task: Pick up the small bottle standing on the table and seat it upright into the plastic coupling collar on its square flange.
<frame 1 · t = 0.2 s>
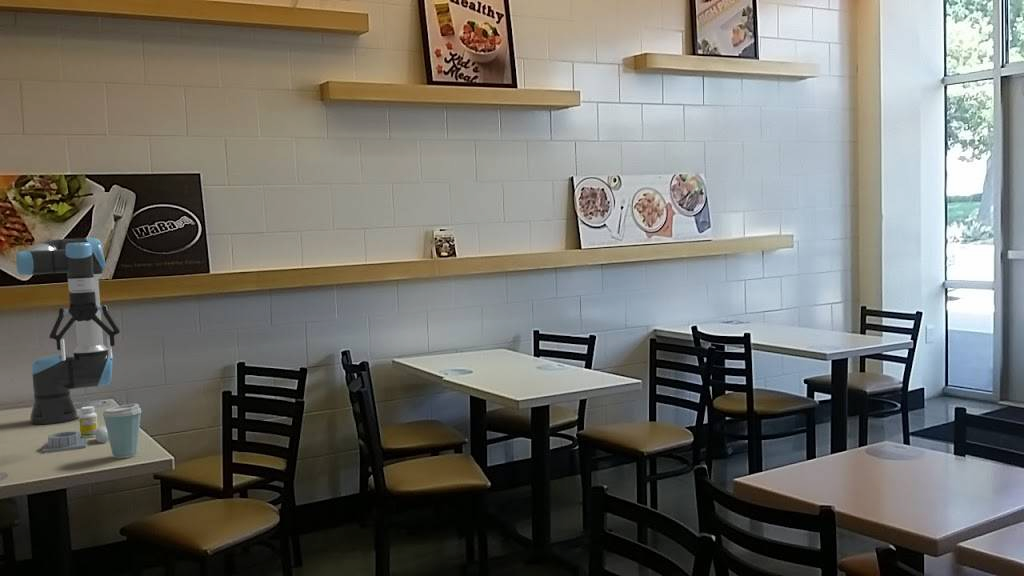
hand: (87, 358, 301), 27 cm above the table, tool pointing down, fingers open, 13 cm apart
supplement bottle: (89, 436, 312), on the table
disposable coffee cup: (125, 456, 282), on the table
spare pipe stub: (103, 440, 304), on the table
coupling socket: (65, 446, 298), on the table
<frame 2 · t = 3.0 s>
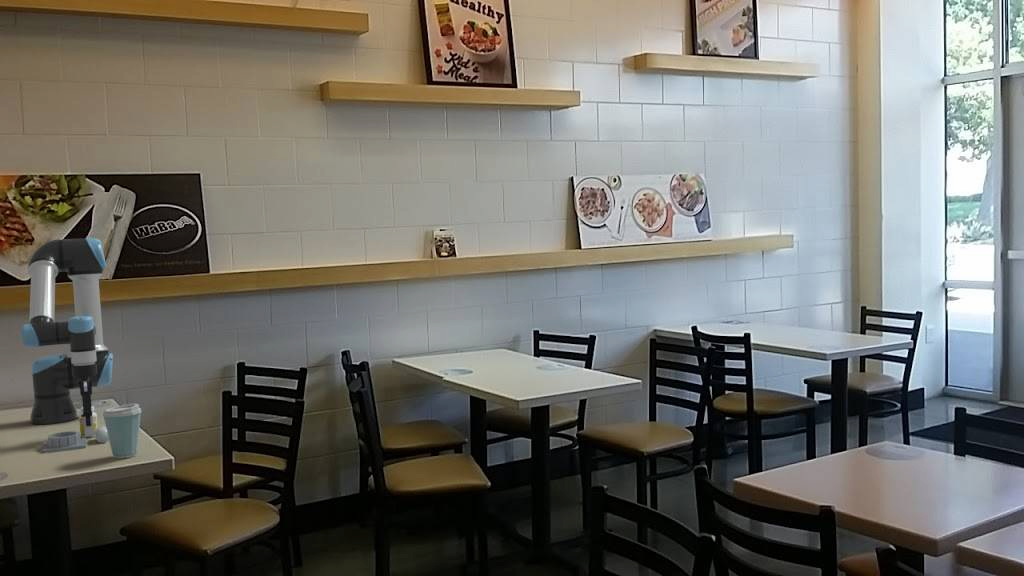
hand: (89, 433, 312), 1 cm above the table, tool pointing down, fingers closed on supplement bottle, 5 cm apart
supplement bottle: (89, 436, 312), on the table, touching gripper
everything else where it was.
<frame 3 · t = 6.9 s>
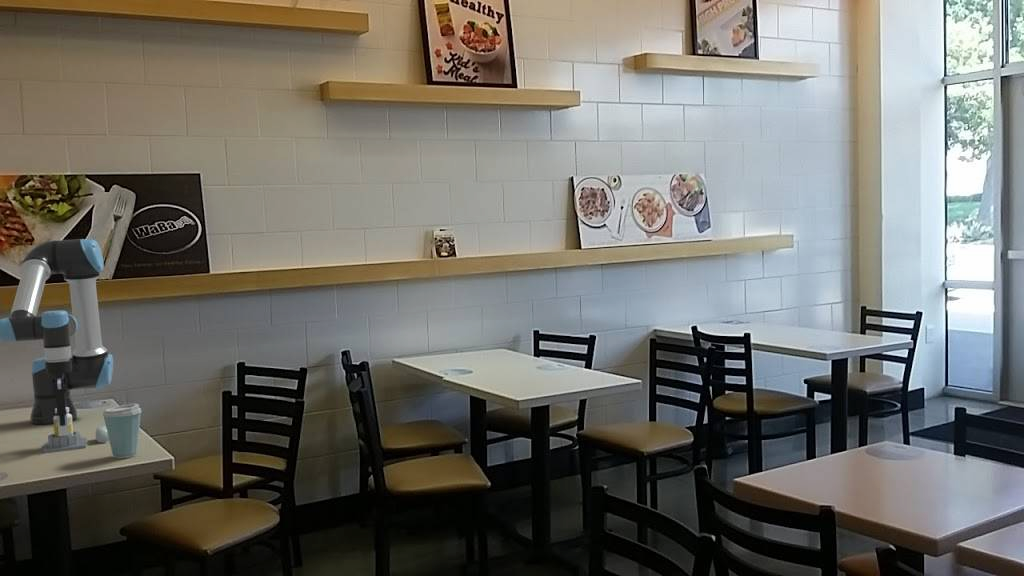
hand: (63, 433, 298), 4 cm above the table, tool pointing down, fingers closed on supplement bottle, 5 cm apart
supplement bottle: (64, 438, 298), point 2 cm above the table, touching gripper
everything else where it was.
when the fingers open (4 cm above the table, at t = 7.0 s): supplement bottle drops 2 cm, resting on coupling socket.
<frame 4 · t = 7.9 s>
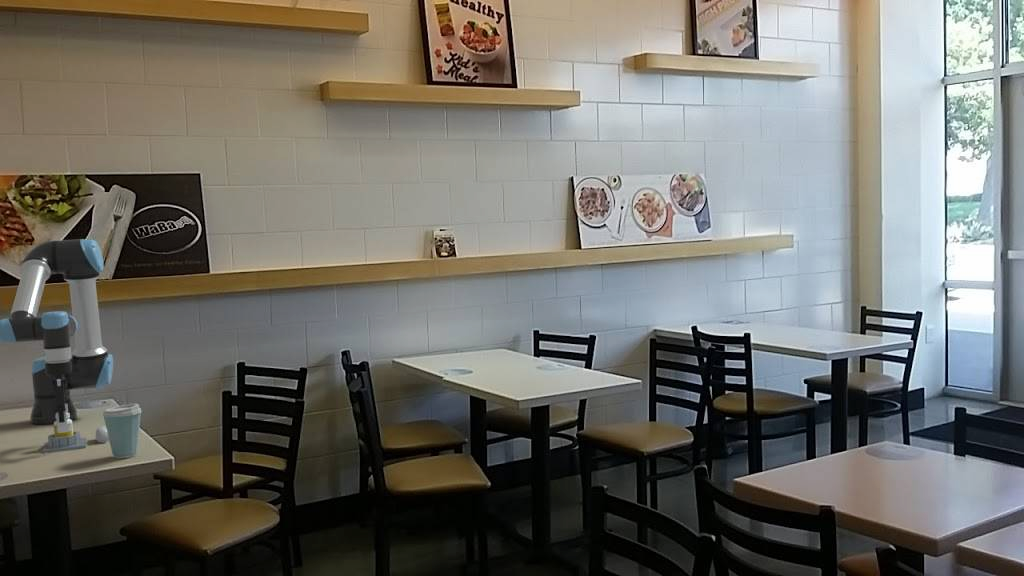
hand: (63, 428, 298), 6 cm above the table, tool pointing down, fingers open, 13 cm apart
supplement bottle: (64, 444, 298), point 1 cm above the table, touching coupling socket
everything else where it was.
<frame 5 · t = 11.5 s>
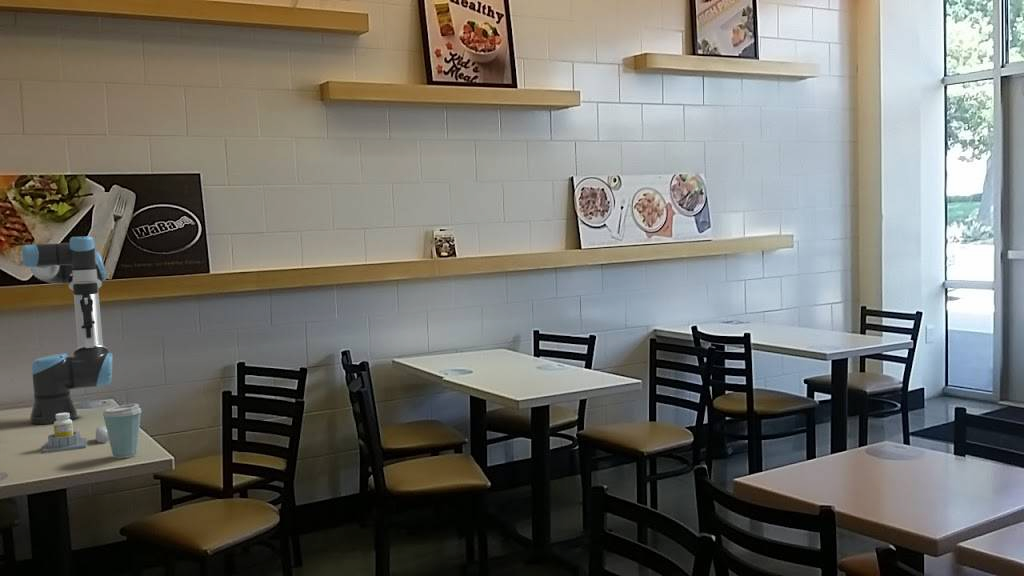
hand: (89, 345, 320), 29 cm above the table, tool pointing down, fingers open, 13 cm apart
nothing on the table moved.
at the end: supplement bottle 0.0 cm from the coupling socket (horizontally); supplement bottle point 0.6 cm above the table; supplement bottle tilted 0° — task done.
